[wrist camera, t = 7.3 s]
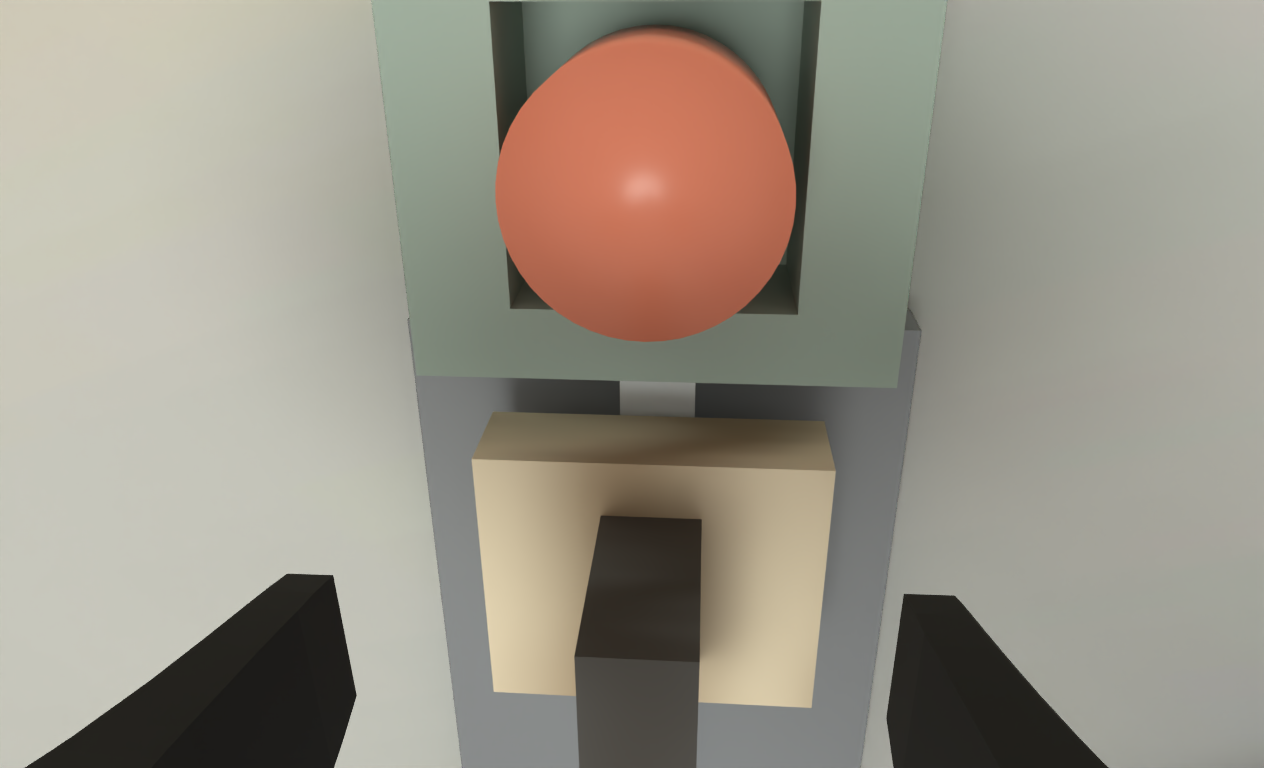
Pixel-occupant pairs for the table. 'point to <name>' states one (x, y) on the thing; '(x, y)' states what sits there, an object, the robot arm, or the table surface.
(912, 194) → the green button housing
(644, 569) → the carriage
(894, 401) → the track
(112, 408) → the table surface
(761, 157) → the button
